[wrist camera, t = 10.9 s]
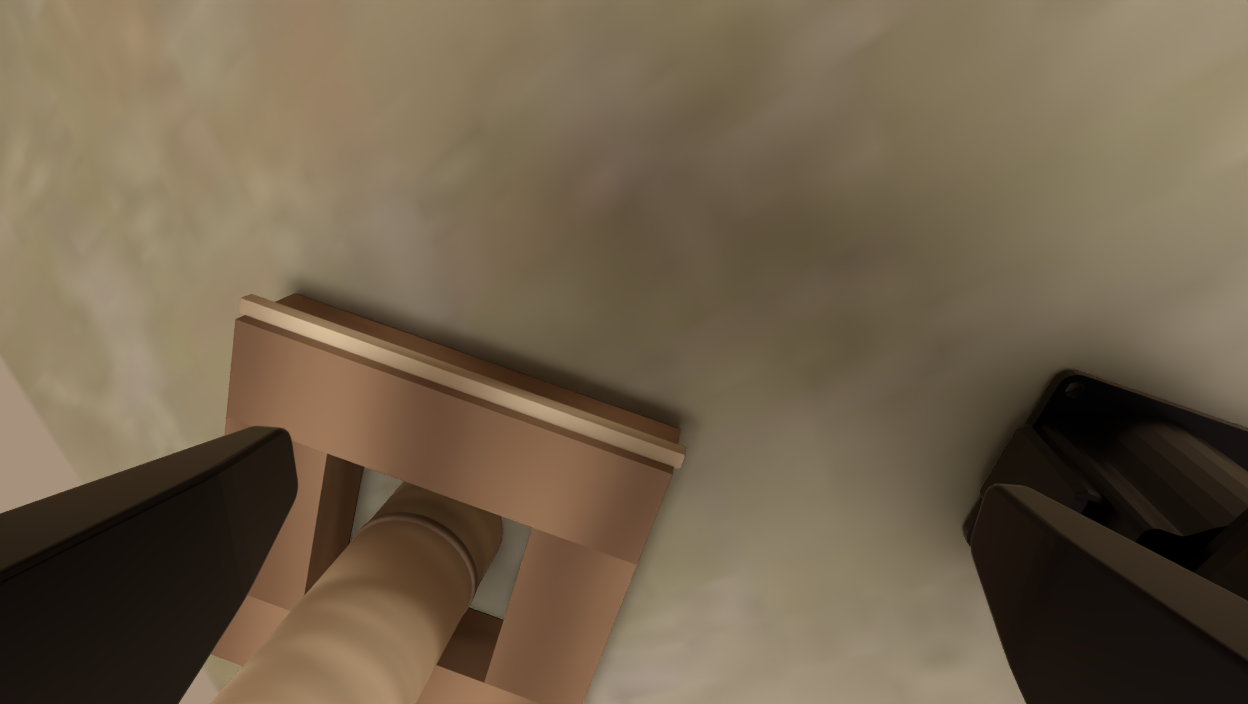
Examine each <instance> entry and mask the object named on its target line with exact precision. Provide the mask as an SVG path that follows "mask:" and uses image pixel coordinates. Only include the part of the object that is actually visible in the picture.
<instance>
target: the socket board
mask: <svg viewBox="0 0 1248 704" xmlns="http://www.w3.org/2000/svg"><path fill="white" fill-rule="evenodd" d="M239 313H241V314H244V316H242V317H240V318H237V319H235V330H234V340H233V351H232V362H231V372H230V383H229V394H228V404H227V415H226V425H225V435H228V434H231V433H234V432H237V431H240V430H243V429H245V428H248V427H251V426H269V427H281V428H284V429H286V430H287V431H288V432H289V434H290V436H291V439H292V444H293V450H294V457H295V464H296V471H297V477H298V491H297V496H296V499H295V502H294V504H293V506H292V508H291V510H290V512H289V514H288V516H287V518H286V520H285V522H284V524H283V526H282V528H281V530H280V532H279V534H278V536H277V538H276V540H275V542H274V544H273V546H272V548H271V550H270V552H269V554H268V556H267V558H266V560H265V562H264V564H263V566H262V568H261V570H260V572H259V574H258V576H257V578H256V580H255V582H254V584H253V585H252V587H251V589H250V591H249V593H248V595H247V597H246V598H245V600H244V602H243V603H242V605H241V607H240V608H239V610H238V612H237V613H236V615H235V617H234V618H233V620H232V621H231V623H230V624H229V626H228V628H227V629H226V631H225V632H224V634H223V635H222V637H221V638H220V640H219V642H218V643H217V645H216V646H215V648H214V649H213V651H212V652H211V654H212V655H214V656H217V657H220V658H222V659H225V660H228V661H230V662H233V663H236V664H238V665H241V666H244V664H245V663H246V662H247V661H248V660H249V659H250V658H251V656H252V655H253V654H254V653H255V652H256V651H257V650H258V648H259V647H260V646H261V645H262V644H263V643H264V642H265V640H266V639H267V638H268V637H269V636H270V635H271V633H272V632H273V631H274V630H275V629H276V628H277V627H278V625H279V624H280V623H281V622H282V621H283V620H284V619H285V617H286V616H287V615H288V614H289V613H290V612H291V611H292V609H293V608H294V607H295V606H296V605H297V604H298V603H299V601H300V600H301V599H302V598H303V597H304V596H305V595H306V593H307V592H308V591H309V590H310V589H311V588H312V586H313V585H314V584H315V583H316V582H317V581H318V580H319V578H320V577H321V576H322V575H323V574H324V573H325V572H326V570H327V569H328V568H329V567H330V566H331V565H332V564H333V562H334V561H335V560H336V559H337V558H338V557H339V556H340V554H341V553H342V552H343V551H344V550H345V549H346V548H347V546H348V545H349V540H350V535H351V530H352V524H353V519H354V514H355V508H356V503H357V498H358V492H359V487H360V482H361V476H362V471H363V466H364V467H366V468H369V469H372V470H375V471H377V472H380V473H383V474H386V475H388V476H391V477H394V478H397V479H400V480H402V481H405V482H408V483H411V484H413V485H416V486H419V487H422V488H424V489H427V490H430V491H433V492H436V493H438V494H441V495H444V496H447V497H449V498H452V499H455V500H458V501H461V502H463V503H466V504H469V505H472V506H474V507H477V508H480V509H483V510H485V511H488V512H491V513H494V514H497V515H499V516H502V517H505V518H508V519H510V520H513V521H516V522H519V523H521V524H524V525H527V526H530V527H532V530H531V534H530V537H529V540H528V543H527V547H526V550H525V553H524V556H523V559H522V563H521V566H520V569H519V572H518V576H517V579H516V582H515V585H514V588H513V592H512V595H511V598H510V601H509V604H508V608H507V611H506V614H505V617H504V621H503V620H500V619H497V618H495V617H492V616H489V615H486V614H484V613H481V612H478V611H475V610H473V609H470V608H468V609H467V611H466V612H465V614H464V615H463V616H462V618H461V619H460V621H459V623H458V625H457V627H456V629H455V631H454V633H453V634H452V636H451V638H450V640H449V642H448V644H447V646H446V648H445V649H444V651H443V653H442V655H441V657H440V659H439V661H438V663H437V665H436V666H435V668H434V670H433V672H432V674H431V676H430V678H429V680H428V681H427V683H426V685H425V687H424V689H423V691H422V693H421V695H420V696H419V698H418V700H417V702H416V704H583V701H584V699H585V696H586V694H587V691H588V688H589V686H590V683H591V681H592V678H593V676H594V673H595V671H596V668H597V665H598V663H599V660H600V658H601V655H602V653H603V650H604V648H605V645H606V642H607V640H608V637H609V635H610V632H611V630H612V627H613V625H614V622H615V620H616V617H617V614H618V612H619V609H620V607H621V604H622V602H623V599H624V597H625V594H626V591H627V589H628V586H629V584H630V581H631V579H632V576H633V574H634V571H635V569H636V566H637V563H638V561H639V558H640V556H641V553H642V551H643V548H644V546H645V543H646V540H647V538H648V535H649V533H650V530H651V528H652V525H653V523H654V520H655V518H656V515H657V512H658V510H659V507H660V505H661V502H662V500H663V497H664V495H665V492H666V489H667V487H668V484H669V482H670V479H671V477H672V474H673V468H674V467H675V468H678V469H680V468H681V465H682V463H683V460H684V458H685V455H686V447H683V446H680V445H678V440H679V434H680V429H678V428H675V427H672V426H669V425H666V424H663V423H661V422H658V421H655V420H652V419H649V418H646V417H644V416H641V415H638V414H635V413H632V412H629V411H627V410H624V409H621V408H618V407H615V406H612V405H610V404H607V403H604V402H601V401H598V400H595V399H593V398H590V397H587V396H584V395H581V394H578V393H576V392H573V391H570V390H567V389H564V388H561V387H558V386H556V385H553V384H550V383H547V382H544V381H541V380H539V379H536V378H533V377H530V376H527V375H524V374H522V373H519V372H516V371H513V370H510V369H507V368H505V367H502V366H499V365H496V364H493V363H490V362H488V361H485V360H482V359H479V358H476V357H473V356H471V355H468V354H465V353H462V352H459V351H456V350H454V349H451V348H448V347H445V346H442V345H439V344H437V343H434V342H431V341H428V340H425V339H422V338H419V337H417V336H414V335H411V334H408V333H405V332H402V331H400V330H397V329H394V328H391V327H388V326H385V325H383V324H380V323H377V322H374V321H371V320H368V319H366V318H363V317H360V316H357V315H354V314H351V313H349V312H346V311H343V310H340V309H337V308H334V307H332V306H329V305H326V304H323V303H320V302H317V301H315V300H312V299H309V298H306V297H303V296H300V295H298V294H295V293H294V294H292V295H290V296H288V297H285V298H283V299H281V300H278V301H276V302H273V301H270V300H267V299H264V298H262V297H259V296H256V295H253V294H250V295H247V296H245V297H242V298H241V301H240V311H239Z"/></svg>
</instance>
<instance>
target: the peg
mask: <svg viewBox="0 0 1248 704" xmlns="http://www.w3.org/2000/svg"><path fill="white" fill-rule="evenodd" d="M501 540H502V521H501V517H500V516H499V515H497V514H494V513H491V512H488V511H485V510H483V509H480V508H477V507H474V506H472V505H469V504H466V503H463V502H461V501H458V500H455V499H452V498H449V497H447V496H444V495H441V494H438V493H436V492H433V491H430V490H427V489H424V488H422V487H419V486H416V485H413V484H411V483H408V482H403V484H402V485H401V486H400V487H399V488H398V489H397V490H396V491H395V492H394V494H393V495H392V496H391V497H390V498H389V499H388V501H387V502H386V503H385V504H384V505H383V506H382V507H381V509H380V510H379V511H378V512H377V513H376V514H375V515H374V517H373V518H372V519H371V520H370V521H369V522H367V523H366V524H365V525H364V526H363V527H362V528H361V529H360V530H359V531H358V533H357V534H356V535H355V536H354V537H353V539H352V540H351V542H350V544H349V545H348V546H347V548H346V549H345V550H344V551H343V552H342V553H341V554H340V556H339V557H338V558H337V559H336V560H335V561H334V562H333V564H332V565H331V566H330V567H329V568H328V569H327V570H326V572H325V573H324V574H323V575H322V576H321V577H320V578H319V580H318V581H317V582H316V583H315V584H314V585H313V586H312V588H311V589H310V590H309V591H308V592H307V593H306V595H305V596H304V597H303V598H302V599H301V600H300V601H299V603H298V604H297V605H296V606H295V607H294V608H293V609H292V611H291V612H290V613H289V614H288V615H287V616H286V617H285V619H284V620H283V621H282V622H281V623H280V624H279V625H278V627H277V628H276V629H275V630H274V631H273V632H272V633H271V635H270V636H269V637H268V638H267V639H266V640H265V642H264V643H263V644H262V645H261V646H260V647H259V648H258V650H257V651H256V652H255V653H254V654H253V655H252V656H251V658H250V659H249V660H248V661H247V662H246V663H245V664H244V666H243V667H242V668H241V669H240V670H239V671H238V672H237V674H236V675H235V676H234V677H233V678H232V679H231V680H230V682H229V683H228V684H227V685H226V686H225V687H224V689H223V690H222V691H221V692H220V693H219V694H218V696H217V697H216V698H215V699H214V700H213V701H212V702H211V703H210V704H416V702H417V700H418V698H419V696H420V695H421V693H422V691H423V689H424V687H425V685H426V683H427V681H428V680H429V678H430V676H431V674H432V672H433V670H434V668H435V666H436V665H437V663H438V661H439V659H440V657H441V655H442V653H443V651H444V649H445V648H446V646H447V644H448V642H449V640H450V638H451V636H452V634H453V633H454V631H455V629H456V627H457V625H458V623H459V621H460V619H461V618H462V616H463V615H464V614H465V612H466V611H467V609H468V608H469V606H470V604H471V602H472V600H473V598H474V596H475V593H476V590H477V588H478V586H479V584H480V582H481V580H482V578H483V576H484V574H485V573H486V571H487V569H488V567H489V565H490V563H491V561H492V559H493V558H494V556H495V554H496V552H497V550H498V548H499V546H500V543H501Z"/></svg>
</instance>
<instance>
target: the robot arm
mask: <svg viewBox="0 0 1248 704" xmlns="http://www.w3.org/2000/svg"><path fill="white" fill-rule="evenodd" d="M1074 382H1078V388H1077V389H1076V390H1075V391H1074V392H1071V393H1065V391H1066V387H1067V386H1068V385H1069V384H1071V383H1074ZM297 491H298V477H297V471H296V464H295V457H294V450H293V444H292V439H291V436H290V434H289V432H288V431H287V430H286V429H284V428H281V427H269V426H251V427H248V428H245V429H243V430H240V431H237V432H234V433H231V434H228V435H225V436H222V437H219V438H217V439H214V440H211V441H208V442H205V443H202V444H199V445H196V446H194V447H191V448H188V449H185V450H182V451H179V452H176V453H173V454H171V455H168V456H165V457H162V458H159V459H156V460H153V461H150V462H147V463H145V464H142V465H139V466H136V467H133V468H130V469H127V470H124V471H122V472H119V473H116V474H113V475H110V476H107V477H104V478H101V479H99V480H96V481H93V482H90V483H87V484H84V485H81V486H78V487H75V488H73V489H70V490H67V491H64V492H61V493H58V494H56V495H53V496H50V497H47V498H44V499H41V500H39V501H35V502H32V503H30V504H27V505H24V506H21V507H18V508H15V509H12V510H9V511H6V512H3V513H1V514H0V704H179V702H180V700H181V699H182V698H183V696H184V694H185V693H186V691H187V690H188V688H189V687H190V685H191V683H192V682H193V680H194V679H195V677H196V676H197V674H198V673H199V671H200V670H201V668H202V666H203V665H204V663H205V662H206V660H207V659H208V657H209V656H210V654H211V652H212V651H213V649H214V648H215V646H216V645H217V643H218V642H219V640H220V638H221V637H222V635H223V634H224V632H225V631H226V629H227V628H228V626H229V624H230V623H231V621H232V620H233V618H234V617H235V615H236V613H237V612H238V610H239V608H240V607H241V605H242V603H243V602H244V600H245V598H246V597H247V595H248V593H249V591H250V589H251V587H252V585H253V584H254V582H255V580H256V578H257V576H258V574H259V572H260V570H261V568H262V566H263V564H264V562H265V560H266V558H267V556H268V554H269V552H270V550H271V548H272V546H273V544H274V542H275V540H276V538H277V536H278V534H279V532H280V530H281V528H282V526H283V524H284V522H285V520H286V518H287V516H288V514H289V512H290V510H291V508H292V506H293V504H294V502H295V499H296V496H297ZM980 493H981V496H982V497H981V499H980V500H979V502H978V504H977V505H976V507H975V509H974V510H973V512H972V514H971V515H970V517H969V519H968V520H967V522H966V524H965V525H964V528H963V534H964V537H965V539H966V541H967V543H968V544H969V545H970V547H971V553H972V557H973V561H974V564H975V567H976V569H977V572H978V575H979V578H980V581H981V584H982V587H983V590H984V593H985V596H986V599H987V602H988V605H989V608H990V611H991V614H992V617H993V620H994V623H995V626H996V629H997V632H998V635H999V638H1000V641H1001V644H1002V647H1003V650H1004V653H1005V655H1006V658H1007V661H1008V663H1009V666H1010V668H1011V670H1012V673H1013V675H1014V677H1015V680H1016V682H1017V684H1018V687H1019V689H1020V691H1021V693H1022V695H1023V698H1024V700H1025V702H1026V704H1248V428H1245V427H1242V426H1239V425H1236V424H1233V423H1230V422H1227V421H1224V420H1221V419H1218V418H1216V417H1213V416H1210V415H1207V414H1204V413H1201V412H1198V411H1195V410H1192V409H1189V408H1186V407H1183V406H1180V405H1178V404H1175V403H1172V402H1169V401H1166V400H1163V399H1160V398H1157V397H1154V396H1151V395H1148V394H1145V393H1142V392H1139V391H1137V390H1134V389H1131V388H1128V387H1125V386H1122V385H1119V384H1116V383H1113V382H1110V381H1107V380H1104V379H1101V378H1099V377H1096V376H1093V375H1090V374H1087V373H1084V372H1081V371H1078V370H1066V371H1063V372H1061V373H1059V374H1057V375H1056V376H1055V378H1054V379H1053V380H1052V381H1051V383H1050V385H1049V386H1048V388H1047V390H1046V391H1045V393H1044V395H1043V396H1042V398H1041V400H1040V401H1039V403H1038V405H1037V406H1036V408H1035V410H1034V411H1033V413H1032V415H1031V416H1030V418H1029V419H1028V421H1027V423H1026V424H1025V425H1024V426H1022V427H1020V428H1018V429H1017V430H1016V432H1015V434H1014V435H1013V437H1012V439H1011V440H1010V442H1009V444H1008V445H1007V447H1006V449H1005V450H1004V452H1003V454H1002V455H1001V457H1000V459H999V460H998V462H997V464H996V465H995V467H994V469H993V470H992V472H991V474H990V475H989V477H988V479H987V480H986V482H985V484H984V485H983V487H982V489H981V491H980Z"/></svg>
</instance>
